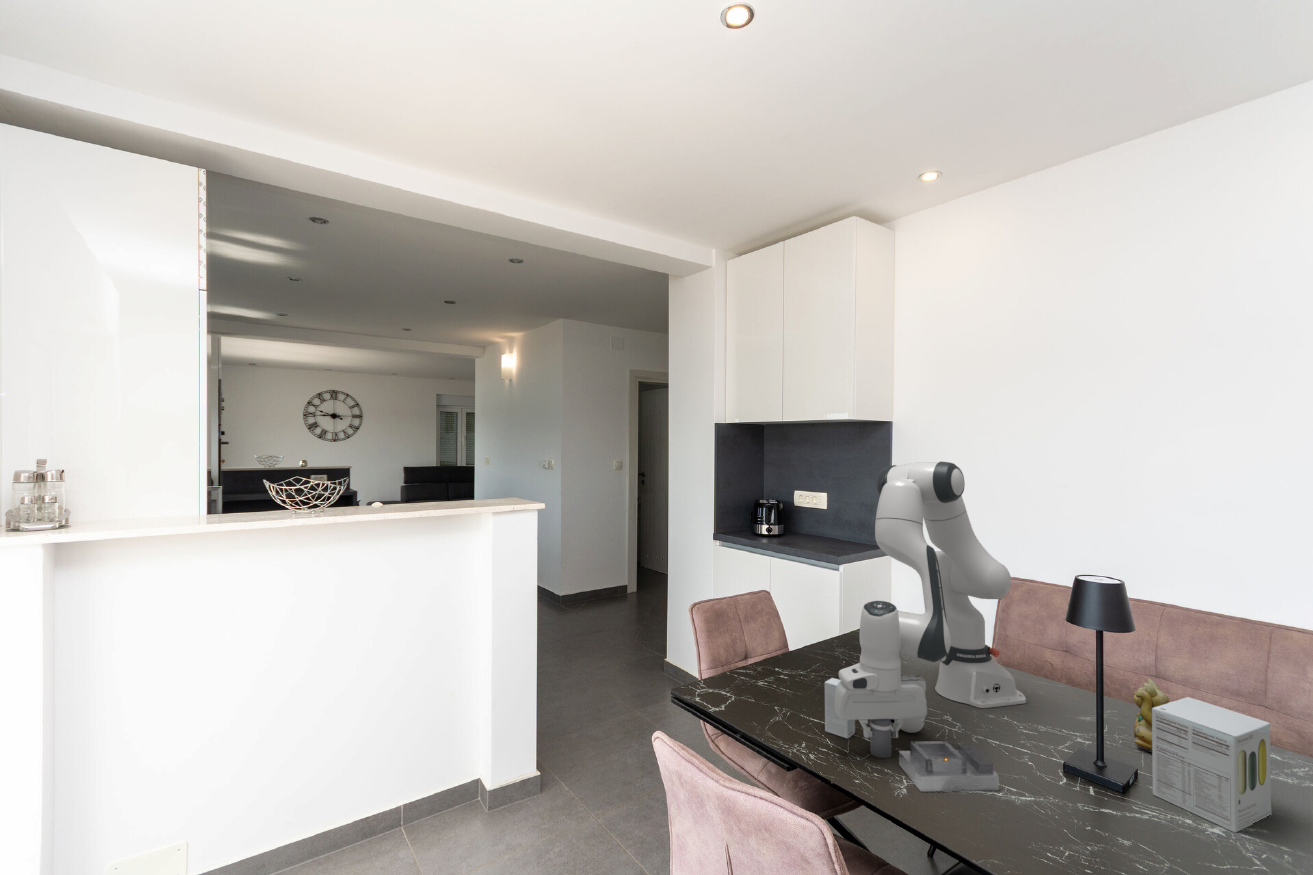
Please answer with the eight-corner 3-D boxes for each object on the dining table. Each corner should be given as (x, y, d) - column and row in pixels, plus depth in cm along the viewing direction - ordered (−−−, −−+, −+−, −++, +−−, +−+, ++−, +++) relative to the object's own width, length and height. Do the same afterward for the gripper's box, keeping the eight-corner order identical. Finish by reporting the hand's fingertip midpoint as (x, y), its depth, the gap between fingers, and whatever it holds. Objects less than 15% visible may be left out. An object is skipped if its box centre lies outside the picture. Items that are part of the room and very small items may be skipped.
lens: (886, 747, 137) (886, 712, 137) (895, 758, 132) (895, 721, 132) (866, 748, 137) (866, 712, 137) (874, 758, 132) (874, 721, 132)
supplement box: (1236, 834, 106) (1235, 736, 106) (1151, 794, 118) (1150, 706, 118) (1273, 816, 111) (1272, 722, 112) (1188, 779, 124) (1187, 695, 124)
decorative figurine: (1136, 735, 142) (1136, 672, 143) (1182, 747, 136) (1181, 682, 137) (1130, 749, 136) (1129, 683, 136) (1178, 763, 130) (1177, 694, 130)
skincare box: (855, 733, 144) (855, 683, 144) (847, 739, 141) (847, 688, 141) (832, 725, 148) (832, 676, 148) (824, 731, 145) (823, 681, 145)
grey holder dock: (971, 763, 130) (971, 737, 130) (998, 790, 120) (998, 761, 120) (899, 764, 129) (898, 738, 130) (920, 791, 119) (920, 762, 120)
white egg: (919, 741, 140) (919, 710, 140) (888, 731, 145) (887, 701, 145) (933, 726, 147) (933, 697, 147) (903, 717, 152) (903, 688, 152)
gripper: (918, 669, 138) (919, 729, 138) (831, 670, 138) (832, 730, 137) (932, 680, 132) (932, 743, 132) (840, 681, 131) (841, 744, 131)
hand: (880, 736), depth 134 cm, fingers closed on lens, 4 cm apart
